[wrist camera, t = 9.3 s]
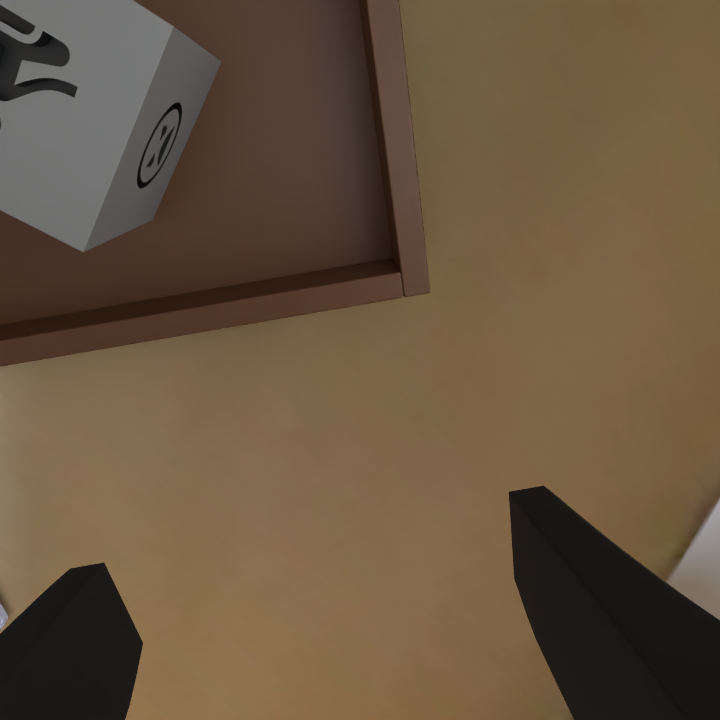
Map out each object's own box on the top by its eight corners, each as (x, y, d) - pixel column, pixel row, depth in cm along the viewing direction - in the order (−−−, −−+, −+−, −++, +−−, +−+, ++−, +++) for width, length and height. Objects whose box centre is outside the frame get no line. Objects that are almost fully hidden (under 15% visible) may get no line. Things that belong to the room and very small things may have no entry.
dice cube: (221, 61, 15) (173, 26, 10) (152, 219, 16) (83, 252, 11) (41, -54, 13) (-109, -156, 9) (-15, 129, 15) (-167, 125, 10)
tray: (-58, 354, 18) (-114, 386, 16) (-327, -158, 12) (-474, -225, 10) (417, 273, 18) (430, 293, 15) (352, -280, 12) (358, -374, 10)
